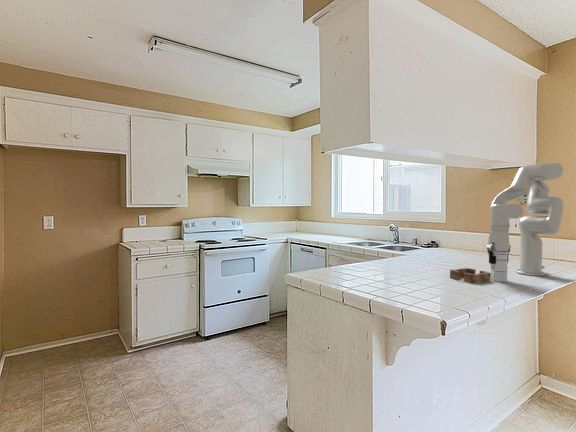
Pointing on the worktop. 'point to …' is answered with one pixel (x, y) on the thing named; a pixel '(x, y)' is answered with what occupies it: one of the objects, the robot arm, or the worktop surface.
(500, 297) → the worktop surface
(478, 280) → the brown joined bars
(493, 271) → the syrup box
